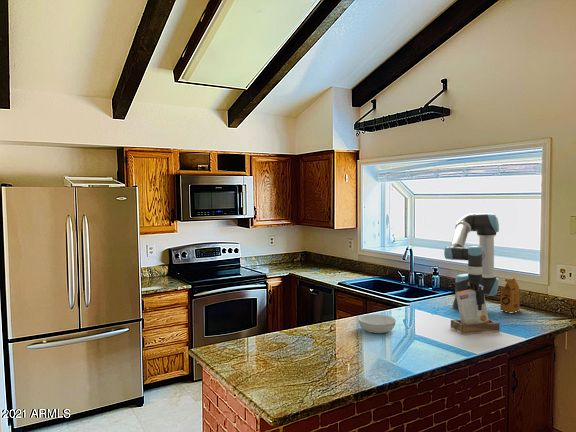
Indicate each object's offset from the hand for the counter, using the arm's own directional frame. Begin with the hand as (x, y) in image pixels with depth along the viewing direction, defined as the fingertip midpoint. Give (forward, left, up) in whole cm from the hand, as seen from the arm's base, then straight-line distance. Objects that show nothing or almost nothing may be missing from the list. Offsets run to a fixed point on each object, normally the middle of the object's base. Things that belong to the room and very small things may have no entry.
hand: (474, 314), depth 255 cm
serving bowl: (+54, -12, -10) cm, 56 cm away
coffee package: (-48, -32, -9) cm, 59 cm away
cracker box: (-1, 0, -7) cm, 7 cm away
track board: (0, 0, -9) cm, 9 cm away
